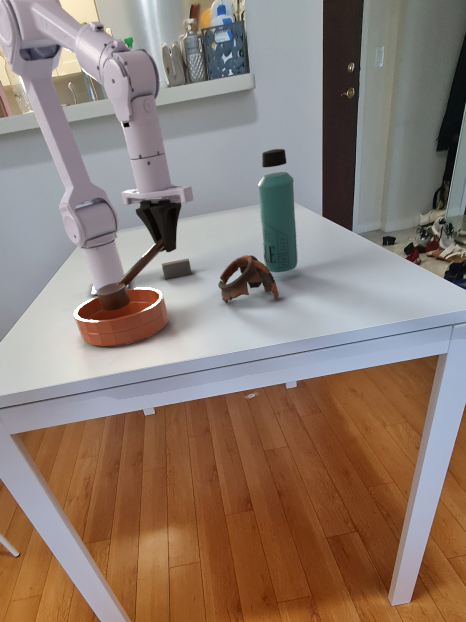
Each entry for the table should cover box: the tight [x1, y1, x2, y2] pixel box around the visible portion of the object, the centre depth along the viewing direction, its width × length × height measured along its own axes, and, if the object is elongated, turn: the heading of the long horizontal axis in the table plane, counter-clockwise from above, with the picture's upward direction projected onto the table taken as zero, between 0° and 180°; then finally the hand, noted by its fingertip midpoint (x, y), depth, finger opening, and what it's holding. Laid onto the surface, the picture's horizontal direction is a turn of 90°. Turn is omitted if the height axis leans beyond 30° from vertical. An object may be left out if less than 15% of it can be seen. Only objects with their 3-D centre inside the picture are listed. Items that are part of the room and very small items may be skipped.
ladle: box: [97, 237, 164, 311], centre depth 78 cm, size 19×5×6 cm, turn 145°
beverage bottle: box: [257, 148, 299, 273], centre depth 83 cm, size 6×7×20 cm
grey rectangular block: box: [161, 258, 192, 280], centre depth 99 cm, size 2×6×3 cm, turn 100°
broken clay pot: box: [217, 254, 280, 304], centre depth 81 cm, size 12×10×8 cm
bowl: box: [73, 287, 169, 347], centre depth 78 cm, size 15×15×4 cm
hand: (167, 250), depth 81 cm, fingers closed on ladle
